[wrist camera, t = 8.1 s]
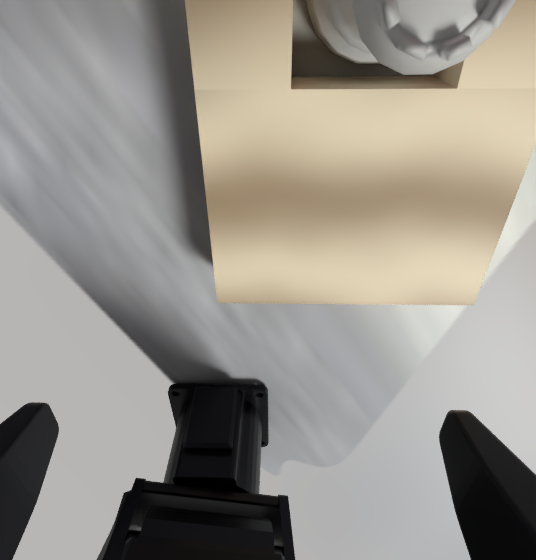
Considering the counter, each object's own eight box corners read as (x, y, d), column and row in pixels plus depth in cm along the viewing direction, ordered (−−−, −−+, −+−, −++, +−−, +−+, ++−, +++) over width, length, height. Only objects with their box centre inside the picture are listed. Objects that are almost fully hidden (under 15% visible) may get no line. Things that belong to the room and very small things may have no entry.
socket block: (454, 274, 20) (473, 305, 18) (223, 272, 21) (217, 302, 19) (647, -313, 10) (741, -392, 8) (171, -300, 10) (144, -372, 8)
